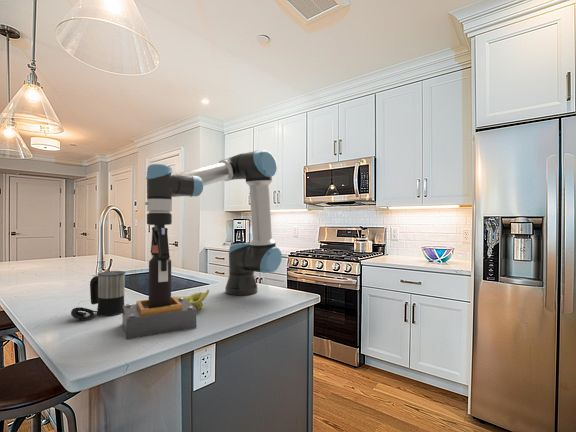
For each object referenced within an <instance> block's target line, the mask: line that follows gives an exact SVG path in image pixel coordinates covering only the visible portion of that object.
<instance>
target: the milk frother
mask: <svg viewBox="0 0 576 432" xmlns="http://www.w3.org/2000/svg"><path fill="white" fill-rule="evenodd" d="M125 280H126V271H123V270H108V271H101V272H98V273H97V275H95V276H93V277H91V280H90V282H89V289H90V290H89V291H90V292H89V294H90V304H91V305H97V308H96V309H97V310H92V309H90V308H86V307H80V306H79V307H74V308H72V309H71V312H70V314H71V316H72V318H74V319H75V320H76V319H77V320H78V321H83V320H84V321H86V320H90V319H93V318H94V316H95V313H96V315H97V316H100V317H102V316H103V317H106V316H110V317H111V316H117V315H120V314H122V310H123V306H125ZM87 313H88V315H87Z"/></svg>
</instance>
